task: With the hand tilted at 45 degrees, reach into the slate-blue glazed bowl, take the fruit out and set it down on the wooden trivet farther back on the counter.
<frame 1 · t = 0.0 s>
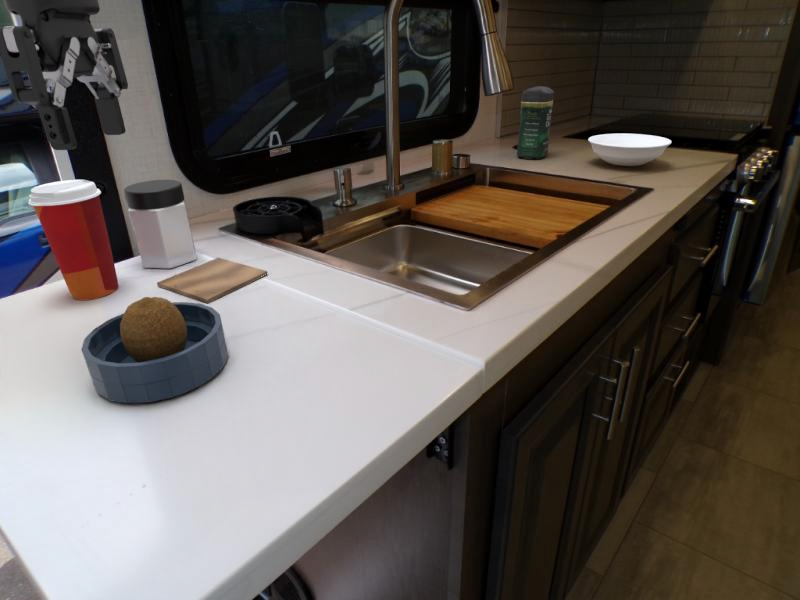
hand: (92, 141, 54), 22 cm above the worktop, tool pointing down, fingers open, 8 cm apart
coffee cup: (95, 292, 74), on the worktop
bowl: (624, 165, 136), on the worktop
jar: (170, 260, 84), on the worktop
glazed bowl: (164, 367, 56), on the worktop
wooden trivet: (213, 280, 76), on the worktop
fruit: (163, 366, 56), resting on glazed bowl
green canister: (532, 157, 149), on the worktop
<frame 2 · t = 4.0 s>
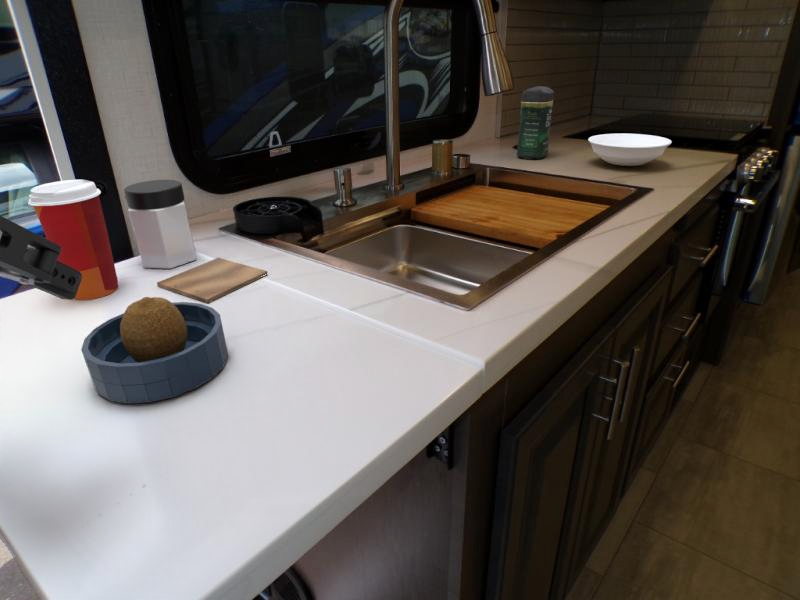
hand: (27, 282, 40), 15 cm above the worktop, tool tilted 45°, fingers open, 8 cm apart
nothing on the worktop moved.
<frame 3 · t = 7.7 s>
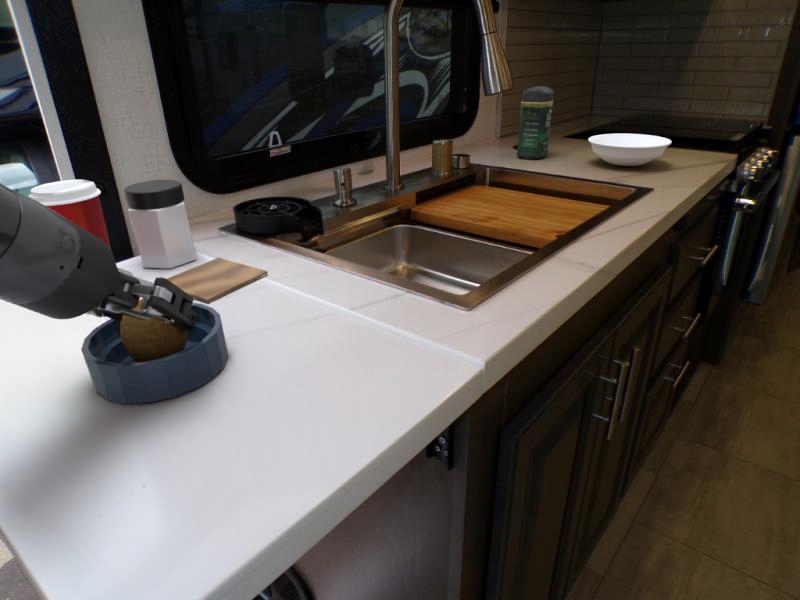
hand: (163, 319, 55), 5 cm above the worktop, tool tilted 45°, fingers closed on fruit, 6 cm apart
fruit: (163, 366, 56), resting on glazed bowl, touching gripper
everything else where it was.
when the fingers open (5 cm above the worktop, at t = 17.5 s): fruit stays where it is, resting on wooden trivet.
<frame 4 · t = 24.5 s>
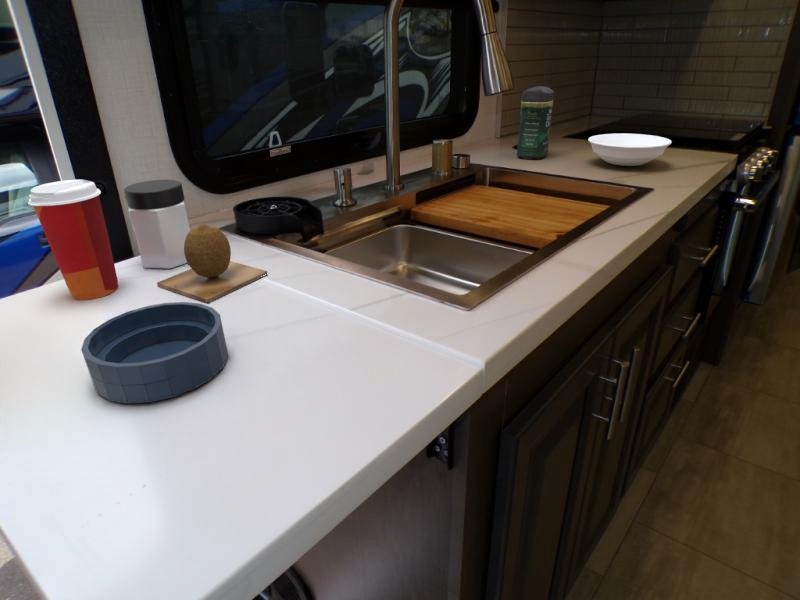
fruit: (213, 278, 76), resting on wooden trivet
everything else where it was.
at the end: fruit inside the target area on the wooden trivet (0.2 cm from its centre), point 0.4 cm above the wooden trivet's base; fruit touching wooden trivet; the gripper is holding nothing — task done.
